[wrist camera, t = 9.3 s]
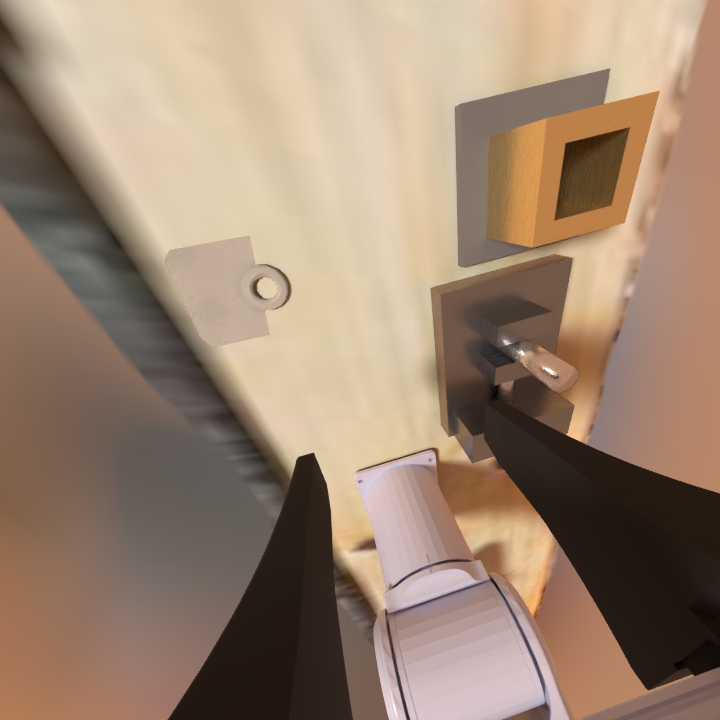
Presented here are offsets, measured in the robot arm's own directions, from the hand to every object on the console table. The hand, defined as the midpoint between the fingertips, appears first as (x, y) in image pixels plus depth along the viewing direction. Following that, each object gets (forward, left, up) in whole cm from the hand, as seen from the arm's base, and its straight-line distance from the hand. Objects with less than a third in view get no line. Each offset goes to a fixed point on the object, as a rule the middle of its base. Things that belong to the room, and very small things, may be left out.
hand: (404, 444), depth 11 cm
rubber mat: (+7, -11, -10) cm, 17 cm away
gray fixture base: (-4, -10, -10) cm, 15 cm away
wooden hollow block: (+7, -11, -9) cm, 17 cm away
